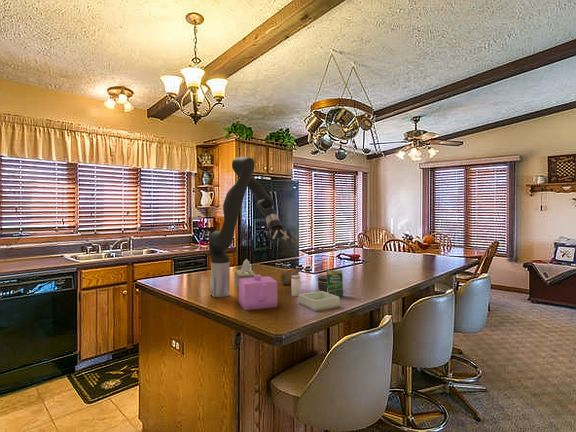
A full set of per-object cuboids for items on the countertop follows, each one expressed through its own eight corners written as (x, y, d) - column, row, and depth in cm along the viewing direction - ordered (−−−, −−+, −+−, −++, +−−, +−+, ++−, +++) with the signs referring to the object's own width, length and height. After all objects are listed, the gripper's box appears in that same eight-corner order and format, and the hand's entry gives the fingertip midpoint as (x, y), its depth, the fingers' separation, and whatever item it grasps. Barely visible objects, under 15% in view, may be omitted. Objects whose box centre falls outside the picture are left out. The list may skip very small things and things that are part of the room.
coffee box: (327, 296, 176) (327, 271, 175) (326, 295, 178) (326, 270, 178) (343, 296, 176) (343, 271, 175) (342, 295, 178) (342, 270, 178)
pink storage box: (248, 315, 146) (248, 281, 146) (236, 300, 170) (236, 271, 169) (282, 311, 151) (282, 279, 151) (266, 297, 175) (266, 270, 174)
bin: (314, 311, 151) (314, 301, 151) (298, 303, 162) (298, 294, 162) (339, 306, 157) (339, 297, 157) (322, 300, 169) (322, 290, 169)
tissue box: (256, 288, 194) (256, 260, 194) (239, 290, 192) (239, 261, 191) (250, 282, 212) (250, 256, 212) (234, 283, 210) (234, 257, 209)
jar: (335, 293, 184) (335, 278, 183) (316, 292, 186) (316, 278, 185) (336, 288, 193) (336, 275, 193) (318, 288, 195) (318, 274, 195)
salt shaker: (294, 296, 176) (294, 276, 176) (289, 294, 180) (289, 275, 180) (301, 295, 179) (301, 276, 178) (297, 293, 183) (297, 274, 182)
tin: (284, 285, 202) (284, 271, 202) (279, 284, 204) (279, 270, 204) (298, 281, 214) (298, 267, 214) (294, 280, 216) (294, 267, 216)
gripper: (264, 219, 194) (273, 241, 185) (286, 218, 201) (296, 240, 191) (260, 228, 199) (269, 250, 189) (282, 227, 206) (292, 248, 196)
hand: (283, 245), depth 190 cm, fingers open, 8 cm apart
